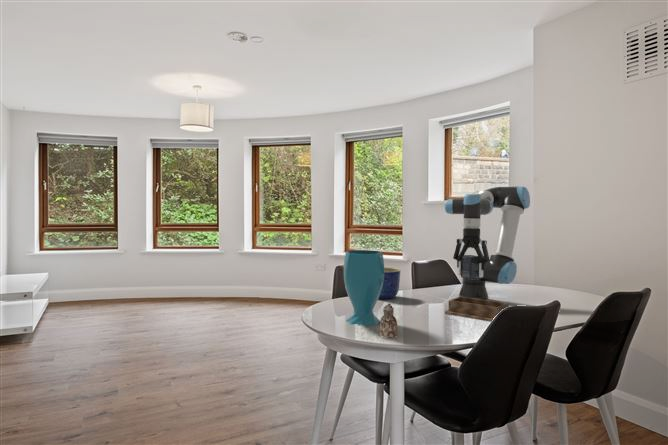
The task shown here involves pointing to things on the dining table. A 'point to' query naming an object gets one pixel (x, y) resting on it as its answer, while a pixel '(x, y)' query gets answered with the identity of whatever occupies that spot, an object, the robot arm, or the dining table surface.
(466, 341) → the dining table surface
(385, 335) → the figurine
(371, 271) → the vase
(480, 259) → the robot arm
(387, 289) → the planter
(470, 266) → the box
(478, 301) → the tray
